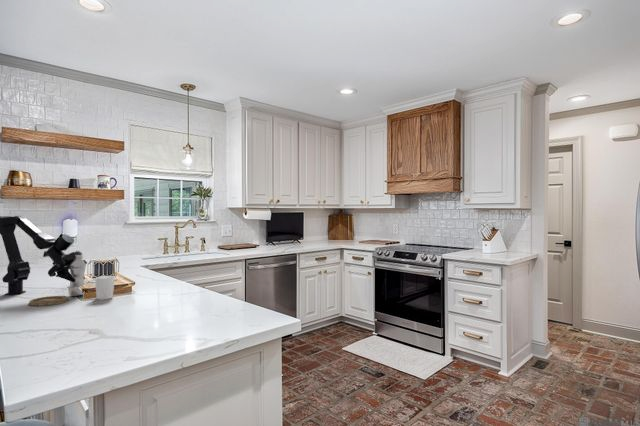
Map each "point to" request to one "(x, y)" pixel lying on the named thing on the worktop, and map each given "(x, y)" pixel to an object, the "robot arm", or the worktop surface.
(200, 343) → the worktop surface
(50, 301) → the brown round plate
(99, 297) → the white cup
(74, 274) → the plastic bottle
